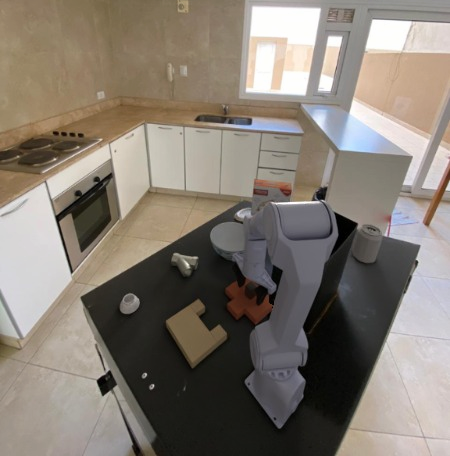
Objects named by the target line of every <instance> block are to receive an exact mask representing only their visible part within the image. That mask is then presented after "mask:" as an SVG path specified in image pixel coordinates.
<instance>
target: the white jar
mask: <svg viewBox="0 0 450 456" xmlns="http://www.w3.org/2000/svg"><path fill="white" fill-rule="evenodd" d="M140 303H141V302H140V299H139V297H138V296H137V295H135V294H134V293H127V294H126V295H124V296H123V298H122V300H121V302H120V303H119V311H120V312H121V314H124V315H130V314H132V313H134V312H135V311H137V310H138V308H140Z"/></svg>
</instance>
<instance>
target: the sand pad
mask: <svg viewBox="0 0 450 456" xmlns="http://www.w3.org/2000/svg"><path fill="white" fill-rule="evenodd" d="M205 312H206V306H205V304H204V303H203V302H202V301H201V300H200V299H199V298H197V299H196V300H195V301H193V302H192V303H190V304H189V305H188V306H186V307H184V308H183V309H181V310H180V311H178V312H177V313H176V314H174V315H172V316H171V317H169V318H168V319H166V321H165V327H166V328H167V330H168V332H169V333H170V335H171V337H172V338H173V340H174V341H175V343H176V345H177V346H178V348H179V349H180V351H181V353H182V354H183V356H184V358H185V359H186V361H187V363H188V364H189V366H190V367H191V369H194V368H196V366H197V365H198V364H200V363H201V362H202V361H203V360H204V359H206V358H207V356H209V355H210V354H211V353H212V352H214V350H216V349H217V348H218V347H220V345H222V344H223V343H224V342H226V341H227V339H228V333H227V331H225V329H224V328H223V327H222V325H221V324H218V325H217V326H215V327H214V328H213V329H211V330H209V329H208V328H207V326H206V325H205V323H204V322H203V321H202V320H201V318H200V316H201V315H203V314H204V313H205Z"/></svg>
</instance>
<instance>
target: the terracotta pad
mask: <svg viewBox="0 0 450 456" xmlns="http://www.w3.org/2000/svg"><path fill="white" fill-rule="evenodd" d="M258 286H259V285H258V284H257V283H256V282H254V281H251V280H249V279H247V278H246V282H245V284H244V285H243V286H242V287H240V288H239V287H238V284H237V280H236V281H234V282H232V283H231V284H230V285H228V286H227V287H225V295H226V296H227V297H228V298H229V299H230V301H228V303H227V304H226V309H227V310H228V312H229V313H230V314H231V315H232V316H233V317H234V318H235V320H239V319H240V318H241V317H242V316H244V315H245V316H246V317H247V319H249V320H250V321H251V322H252V323H253V324H254V325H255V326H257V325H258V323H259V322H261V321H262V320H263V319H264V318H266V317H267V316H268V314H270V313H271V312H272V307H273V305H272V304H270V303H269V296H270V295H269V294H267V295H266V297H265V299H264V301H263V303H262V304H261V305H259V306H258V305H257V304H256V298H257V297H256V292H255V288H257V287H258Z"/></svg>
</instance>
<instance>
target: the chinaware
mask: <svg viewBox="0 0 450 456" xmlns="http://www.w3.org/2000/svg"><path fill="white" fill-rule="evenodd" d="M209 234H210V235H209V237H210V242H211V245H212V247H213V249H214V250H215V252H216V253H217V254H218V255H219V256H221V258H222V257H223V258H224V259H225V260H227V261H232V255H233V254H235V253H236V252H238V253H239V254H241V255H243V254H244V242H245V236H244V232H243V223H241V222H235V221H226V222H221V223H219V224H217V225H215V226H214V227H213V228H212V229H211V231H210V233H209Z"/></svg>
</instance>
